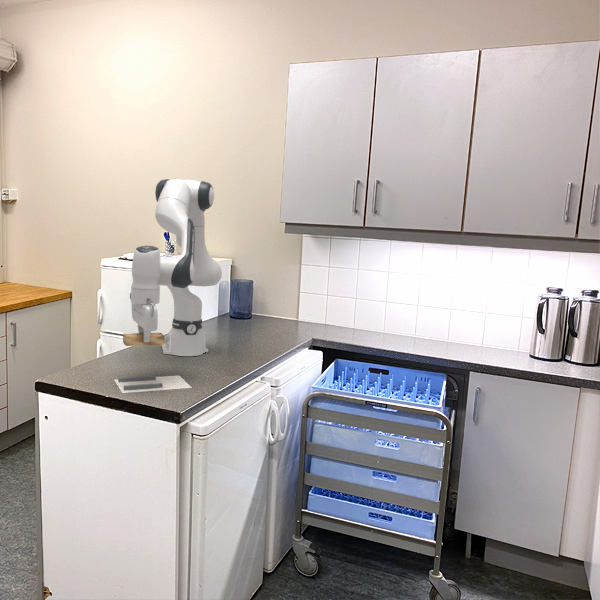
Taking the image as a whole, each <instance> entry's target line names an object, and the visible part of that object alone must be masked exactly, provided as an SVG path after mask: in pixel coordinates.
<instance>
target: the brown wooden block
mask: <svg viewBox="0 0 600 600" xmlns="http://www.w3.org/2000/svg"><path fill="white" fill-rule="evenodd" d="M122 336H123V337H122V344H123V345H124V346H126V347H133V346H134V347H138V346H139V347H140V346H142V347H143V346H160V345H161V346H162V345H164V343H165V341H164V337H165V335H164V334H163V333H162V332H151V335H150V341H149V342H144V341H143V336H144V333H139V332H136V333H131V332H129V333H123V335H122Z"/></svg>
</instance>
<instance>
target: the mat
mask: <svg viewBox="0 0 600 600" xmlns="http://www.w3.org/2000/svg"><path fill="white" fill-rule="evenodd" d="M113 381H114V383H115V384H116V385H117V387H118V388H119V390H120V392H121V393H122V394H126V393H127V394H129V393H140V392H141V393H143V392H155V391H168V390H179V389H180V390H181V389H192V388H193V387H192V386H191V385H190V384H188V382H186V380H185V379H184V378H182V377H181V376H180V375H166V376H156V375H142V376H141V375H140V376H127V377H125V376H123V377H118V379H117V378H116V379H114V380H113Z"/></svg>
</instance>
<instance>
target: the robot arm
mask: <svg viewBox="0 0 600 600" xmlns="http://www.w3.org/2000/svg"><path fill="white" fill-rule="evenodd" d="M155 200H156V202H157V203H156V206H155V211H154V213H155V214H154V216H155V217H154V218H155V220H156V222H157V224H158V226H160V228H162V229H163V230H165V231H167V232H168V233H171V234H173V235H175V237H176V238H175V241H176V244H177V245H178V247H179V248H180V255H179V256H176V257H175V256H174V257H173V256H162V255H161V252H160V249H159V247H156V246H154V245H142V246H137V247H135V249H134V252H133V257H132V261H131V262H132V263H131V264H132V265H131V276H132V283H131V288H130V293H129V299H130V303H131V319H132V321H133V322H135V323H136V324H137V331H138V332H137V333H144V336H143V341H144V342H149V341H150V335H151V333H152V332H157V330H158V326H159V325H158V321H159V320H158V318H159V317H158V316H159V315H158V307H157V306H156V305H158V304H160V298H161V297H160V296H161V286H166V287H167V288H168V289H169V291H170V293H171V294H172V295H171V296H172V298H173V312H174V315H173V319H172V323H171V324H172V325H171V326H172V327H171V329H170V330H169V332H168V333H167V334H166V335H164V336H165V337H164V345H161V347H162V353H163V355H172V356H177V357H178V356H179V357H194V356H195V357H197V356H201V355H204V354H205V352H206V353H208V352H209V348H207V347H206V332H205V331H204V330H202V329H203V323H204V322H203V319H202V315H203V313H202V311H203V303H202V302H203V301H202V299H201V298H200V297H199V296H198V295H196V294H194V293H192V292H191V290H189V286H190V287H191V286H193V287H211V286H212V287H214V286H216V285H218V283H219V282H220V281H221V279H222V276H223V275H222V274H223V272H222V268H221V266H220V264H219V263H218V262H217V261H216V260H214V258H213V257H212V256H211V255H210V253H209V251H208V249H207V246H206V238H205V230H206V229H205V227H206V226H205V225H206V223H205V220H206V219H205V212H206V211H207V210H208V209H210V208H211V207H212V205H213V204H214V201H215V190H214V187H213V185H212V184H211V183H210V182H207V181H205V180H202V181H200V180H196V179H195V180H194V179H186V178H184V179H179V178H174V179H173V178H172V179H169V178H165V179H161V180H159V181H158V182H157V184H156V186H155ZM203 353H204V354H203Z"/></svg>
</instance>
